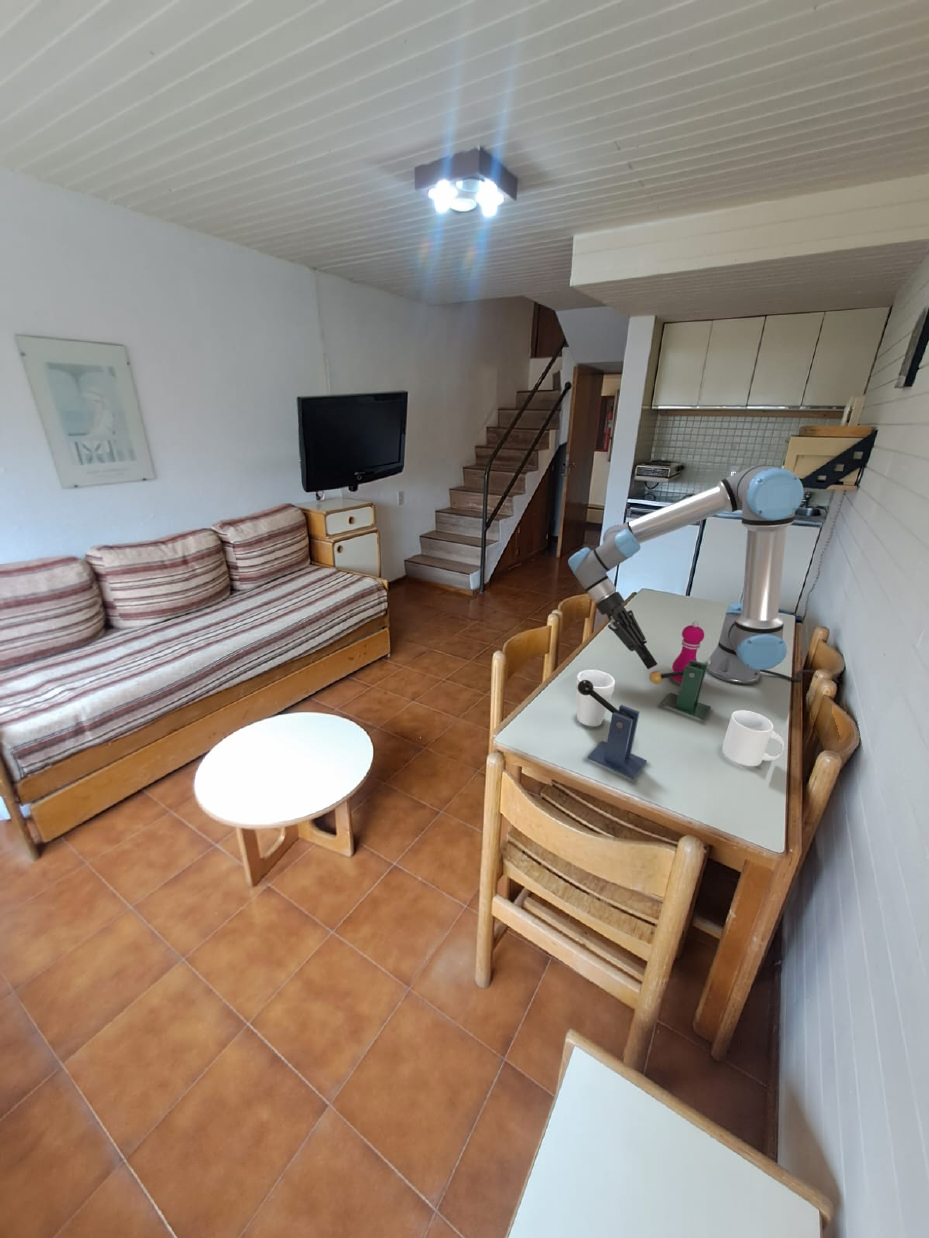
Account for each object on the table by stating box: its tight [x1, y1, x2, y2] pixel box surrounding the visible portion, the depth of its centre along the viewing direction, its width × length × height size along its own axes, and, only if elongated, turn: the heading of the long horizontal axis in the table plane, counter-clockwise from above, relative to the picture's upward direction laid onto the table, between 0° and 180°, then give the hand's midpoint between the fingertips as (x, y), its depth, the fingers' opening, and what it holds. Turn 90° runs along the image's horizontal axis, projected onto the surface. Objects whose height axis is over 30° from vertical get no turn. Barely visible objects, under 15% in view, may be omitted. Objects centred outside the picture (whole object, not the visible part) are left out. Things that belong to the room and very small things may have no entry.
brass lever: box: [648, 665, 701, 685], centre depth 136 cm, size 14×4×4 cm, turn 51°
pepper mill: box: [671, 620, 705, 683], centre depth 148 cm, size 7×7×20 cm
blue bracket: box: [587, 704, 647, 780], centre depth 112 cm, size 11×8×14 cm
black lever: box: [578, 680, 634, 720], centre depth 112 cm, size 14×4×4 cm, turn 51°
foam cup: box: [575, 669, 616, 727], centre depth 127 cm, size 10×9×13 cm
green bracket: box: [661, 660, 712, 720], centre depth 134 cm, size 11×8×14 cm
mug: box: [721, 709, 786, 767], centre depth 115 cm, size 9×12×11 cm
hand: (652, 666), depth 140 cm, fingers closed
